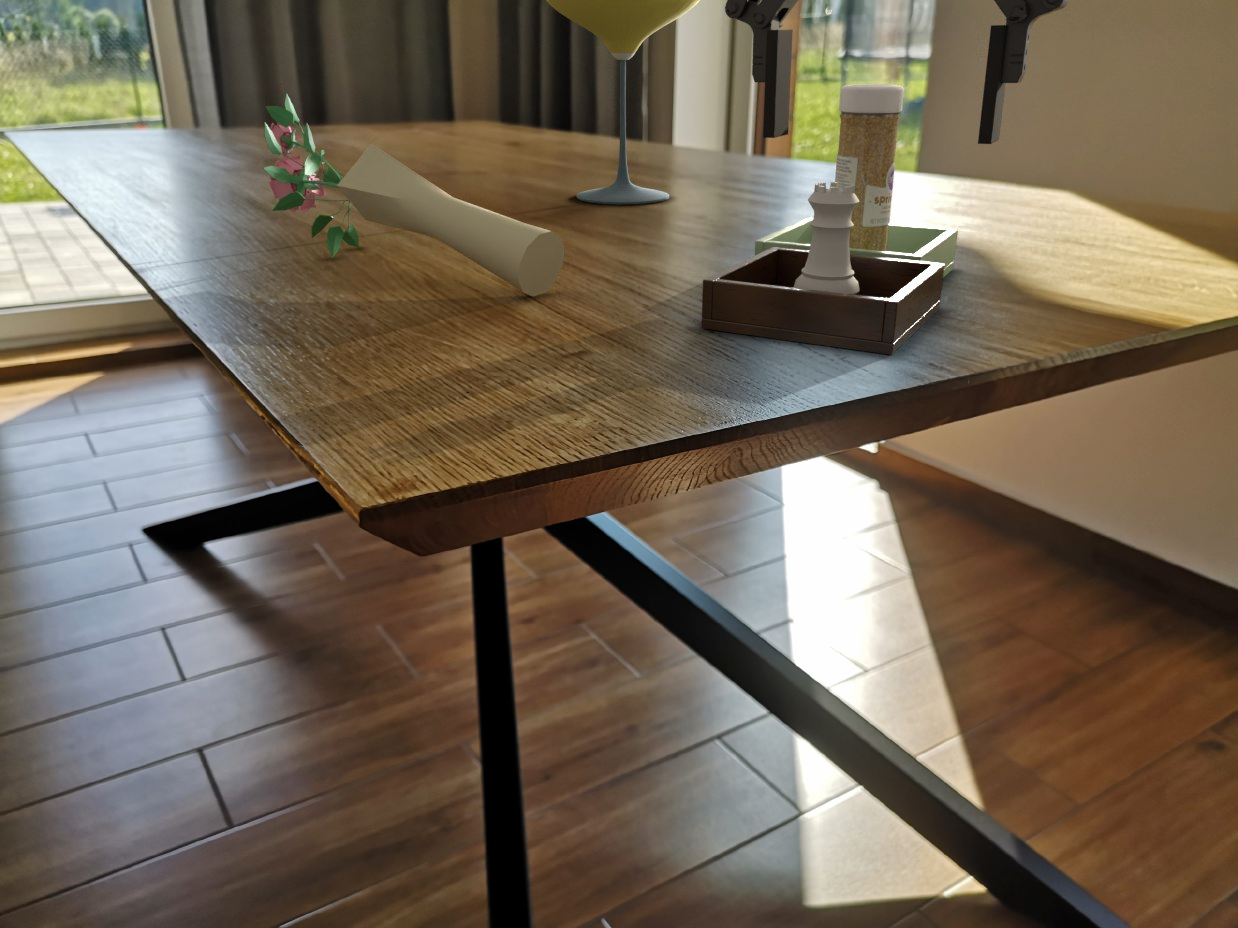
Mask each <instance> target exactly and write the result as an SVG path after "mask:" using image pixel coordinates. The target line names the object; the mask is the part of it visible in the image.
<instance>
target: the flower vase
mask: <svg viewBox="0 0 1238 928" xmlns="http://www.w3.org/2000/svg"><path fill="white" fill-rule="evenodd" d="M284 98H285V99H284V107H281V106H278V105H265V108H266V111H267V112H268V114H269V115H270V117H271V118H272V119H273V120H274V122H276V123H277V124H275V123H274V122H272V123H271V125H270V127H269V125H268V124H267V123H266V122H265V121H264V122H263V123H264V124H263V127H264V128H263V129H264V130H263V131H264V138H265V142H266V144H267V147H268V149H269V150H270V153H272V155H277V156H281V155H282V157H283V161H280V160H279V159H277V160H276V161H275V164H274V165H269V166H265V167H262V169H263V170H264V171H265V173H267V175H268V176H269V179H270V181H269V182H268V184H269V187H270V190H271V191H272V193H273V198H274V199H275V200H277V199H278V201H277V203H276V204H275V205H274V207H273V208H272V209H271V211H272V212H277V211H281V212H282V211H288V210H289V211H291V212H292V213H293V214H296V213H297V211H300V212H301V213H302V214H306V213H307V212H308V211H309V210H310V209H312V208H313V209H314V208H317V205H316V204H315V202H316V201H325V202H342V205H341V207H340V209H339V211H338V212H336V213H332V214H331V215H328V214H319V215H318V216H316V217H315V219H314V221H313V222H312V225H311V227H310V229H311V231H310V233H311V234H310V235H311V239H313V238H314V237H316V236H317V235H318V234H319V233H321V232H322V231H323V230H324V229H325V228H326V227H327V226H328V225H329V223H330V222H331V221H333V220H334V216H335V215H338V214H339V213H340V212H341V211H342V209H343V207H344V204H345V202H348V205H347V206H348V209H347V211H346V213H345V215H344V217H343V220H342V222H341V224H340V225H335V226H330V227H328V230H327V234H326V246H327V248H328V251H329V254H330V256H331V258H332V259H333V258H334V256H336V255H337V253H338V251H339V250H340V249H341V247H342V242H343V241H344V243H346V244H347V246H350V247H351V246H352V247H355V248H360V244H359V243H360V242H359V234H358V231H357V229H356V227H355V226H354V224H351V225H350V222H351V221H350V220H351V219H350V210H351V208H350V207H352V206H353V207H354V208H355V209H356V211H358V213H359V214H360V215H361V217H362V218H363V219H364V220H365V221H369V222H372V223H376V224H380V225H384V226H388V227H391V228H396V229H400V230H404V231H407V232H411V233H412V232H413V233H416V234H420V235H424V236H427V237H430V238H433V239H435V240H437V241H439V242H441V243H443V244H445V245H446V246H447V247H449V248H451V249H453V250H454V251H456V252H458V253H459V254H462V256H465V257H466V258H467V259H469V260H471V261H472V262H474V263H476V265H479V266H480V267H482V268H484V269H485V270H487V271H488V272H490V273H491V274H493V275H495V276H496V277H497V278H499V279H501V280H503V281H504V282H505V283H507V284H509V285H511V286H512V287H514V288H516V289H517V290H519V291H520V292H522V293H524V294H526V295H528V296H531V297H536V296H539V295H542V294H545V293H546V292H547V291H548V290H549V289H550V287H551V286H553V284H554V283H555V282H556V281H557V279H558V277H559V275H560V273H561V270H562V268H563V266H564V259H565V254H566V253H565V252H566V248H565V246H564V242H563V240H562V239H563V238H562V236H561V235H559V234H557V233H556V232H554V231H552V230H549V229H546V228H543V227H539V226H535V225H533V224H528V223H525V222H522V221H519V220H517V219H514V218H511V217H509V216H506V215H503V214H500V213H497V212H494V211H492V210H490V209H486V208H484V207H481V206H479V205H476V204H473V203H470V202H468V201H465V200H462V199H459V198H456V197H454V196H452V195H450V194H448V192H445V190H443V189H441V188H440V187H438V186H436V184H434V183H432V182H431V181H429V180H427V179H426V178H425V177H423V176H422V175H420V174H418V173H417V172H416V171H414V170H412V169H411V168H409V167H408V166H406V165H405V164H403V163H402V162H400V161H399V160H397V159H396V158H394V157H393V156H391V155H390V154H388V153H387V152H386V151H384V150H382V149H381V148H380V147H378V146H377V145H375V144H373V143H370V145H369V146H368V147H367V148H366V149H365V150H364V152H363V153H362V154H361V156H360V157H359V158H357V160H356V161H355V163H354V164H353V165H352V167H351V168H350V169H349V170H348V171H347V173H346V174H344V175H342V174H341V173H340V172H339V171H337V170H335V169H334V168H333V166H332V165H331V164H330V163H329V162H328V161H327V160H326V158H325V157H324V154H325V150H324V149H321V150H320V153H319V152H318V151H317V150H316V148H317V147H316V144H315V141H314V139H313V134H312V131H311V128H310V126H309V124H308V122H306V123H305V126H304V129H303V127H302V125H301V124H300V121H301V120H300V119H299V117H298V115H297V112H296V109H295V107H294V104H293V103H292V101H291V98H290V97H289V95H288V93H287V92H286V93H285V97H284ZM295 122H296V123H297V124H298V125H299V126H298V125H297V124H296V123H295ZM292 125H294V126H296V127H297V128H298V129H299V130H300V131H301V133H302V135H303V143H301V142H298V139H299V136H296V132H297V130H296V127H295V128H294V127H293V126H292ZM294 147H295V148H297V147H301V148H303V149H305V151H306V152H308V153H309V154H308V155H307V157H306V158H305V160H304V163H303V161H302V160H301V155H300V154H295V155H293V156H288V155H289V154H290V155H291V154H293V152H292V151H293V150H294ZM324 164H325V165H326V166H327V169H326V171H325V167H324ZM320 165H321V166H322V170H323V175H320V174H319V173H320V170H319V169H320ZM323 186H327V187H332V188H335V189H339V190H340V191H341V192H342V194H343V195H344V197H346V199H324V198H323V199H321V198H315V195H316V196H319V197H325V196H326V191H325V189H324V187H323ZM308 189H309V190H310V191H309V190H308ZM299 209H300V210H299ZM347 214H348V217H347V218H348V226H347V229H346V230H345V231H344V230H343V229H342V228H341V227H342V225H343V224H344V221H345V219H346V216H347Z"/></svg>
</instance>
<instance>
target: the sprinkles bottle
mask: <svg viewBox="0 0 1238 928" xmlns="http://www.w3.org/2000/svg"><path fill="white" fill-rule="evenodd" d="M839 95H840V96H839V105H838V110H839V112H841V113H840V115H839V118H840V124H839V139H838V150H837V153H836V163H835V164H836V165H835V177H834V182H838V187H839V189H843V183H849V184H851V185H855V189H854V193H855V195H856V196H857V198H858V199H859V203H858V204H857V206H856V207H855V208H854V209H853V211H852V212H851V221H852V223H853V224H854V226H853V227H852V228H851V229H850V236H849V248H854V249H865V250H875V251H886V245H887V234H888V225H889V224H890V221H891V209H892V201H893V191H894V190H893V189H894V179H895V178H894V177H895V169H896V167H895V166H896V161H895V160H896V158H895V157H896V149H897V140H898V139H897V138H898V130H899V129H898V128H899V120H900V118H901V116H900V113H901V112H903V108H904V107H903V106H904V95H905V88H904V87H903V86H902V85H899V84H892V83H852V84H845V85H842V86H841V88H840V94H839Z"/></svg>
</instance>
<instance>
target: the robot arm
mask: <svg viewBox="0 0 1238 928" xmlns="http://www.w3.org/2000/svg"><path fill="white" fill-rule="evenodd" d="M993 1H994V2H995V4H996V5H997V7H998V8H999V10H1000V11H1001V12H1002V14H1003V15H1004V17H1005V24H996V25H995V24H993V25H990V31H989V41H988V49H987V57H986V65H985V66H986V67H985V75H984V84H983V96H982V104H981V111H980V121H979V131H978V139H977V144H978V145H992V144H994V143H995V142H998V141H1000V134H1001V125H1002V117H1003V110H1004V101H1005V94H1006V93H1005V92H1006V84H1019V83H1021V82H1022V81H1023V79H1024V77H1025V75H1026V72H1027V65H1028V57H1029V50H1030V42H1031V33H1032V28H1033V26H1034V23H1035V22H1036V21H1038V19H1040V18H1041V17H1043V16H1046V15H1049V14H1052V13H1054V12H1057V11H1060V10H1063V9H1064V8H1065V7H1067V5H1068V4H1069V1H1070V0H993ZM798 2H799V0H726V3H725V6H724V11H725V14H726V16H727V17H728V18H730V19H734V20H737V21H740V22H743V23H745V24H747V25H748V26H749V27H750V28H751V31H752V59H751V61H752V63H751V75H752V79H753V81H754V83H764V99H763V100H764V102H763V103H764V105H763V128H762V129H763V130H762V131H763V134H762V138H763V139H775V138H780V137H783V136H788V135H789V125H790V123H789V122H790V100H791V80H792V79H791V77H792V56H793V55H792V54H793V53H792V52H793V33H794V32H793V31H794V30H793V29H781V28H782V27H783V26H784V24H783V21H784V20H785V19H786V18H787V16H788V15H789V13H790V12H791V11H792V10H793V8H794V7H795V6H796V4H797V3H798Z"/></svg>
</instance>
